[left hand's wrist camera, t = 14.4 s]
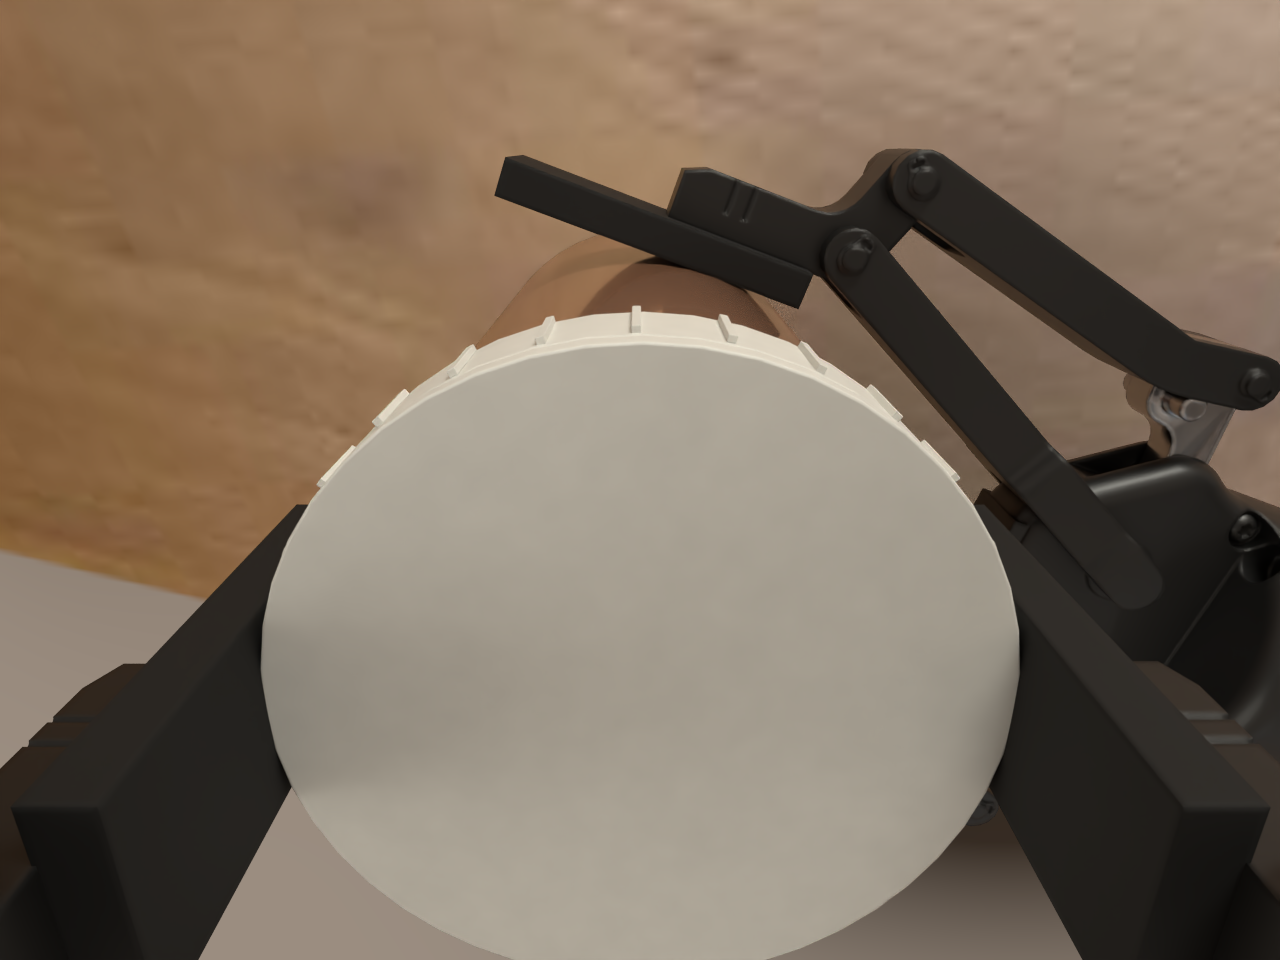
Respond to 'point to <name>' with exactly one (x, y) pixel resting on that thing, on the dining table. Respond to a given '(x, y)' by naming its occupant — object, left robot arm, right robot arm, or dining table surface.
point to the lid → (640, 646)
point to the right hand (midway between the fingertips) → (451, 381)
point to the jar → (629, 292)
